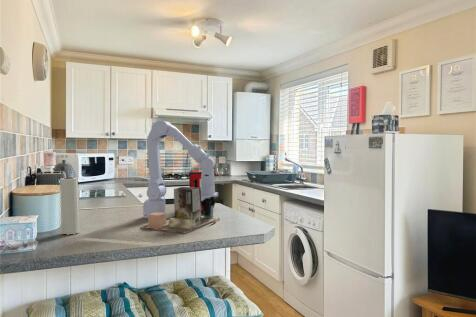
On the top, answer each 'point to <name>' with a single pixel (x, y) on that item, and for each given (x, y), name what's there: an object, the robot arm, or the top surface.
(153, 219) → the terracotta cube
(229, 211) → the top surface
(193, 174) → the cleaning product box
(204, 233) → the top surface
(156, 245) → the top surface
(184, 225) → the frame
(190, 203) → the coffee box
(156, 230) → the lane frame
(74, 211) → the tall grey block
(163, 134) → the robot arm
